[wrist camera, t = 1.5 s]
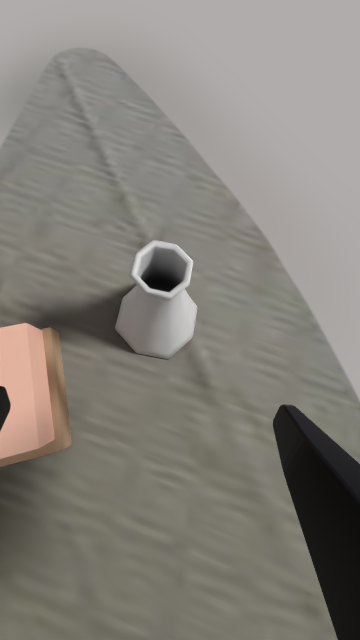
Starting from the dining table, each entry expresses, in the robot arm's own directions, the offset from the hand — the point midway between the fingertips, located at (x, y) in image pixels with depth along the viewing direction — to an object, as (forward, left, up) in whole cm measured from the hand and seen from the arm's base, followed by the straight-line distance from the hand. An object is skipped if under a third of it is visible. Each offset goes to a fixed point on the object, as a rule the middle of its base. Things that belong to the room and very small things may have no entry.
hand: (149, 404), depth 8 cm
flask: (+6, -2, -13) cm, 14 cm away
